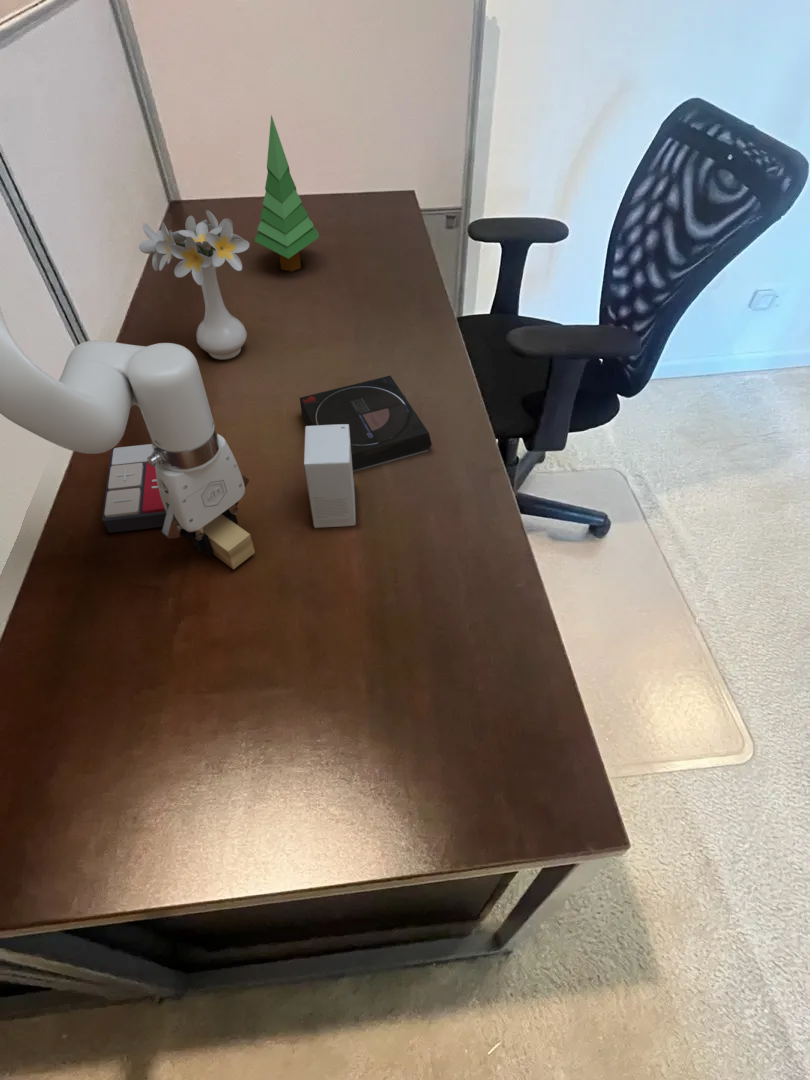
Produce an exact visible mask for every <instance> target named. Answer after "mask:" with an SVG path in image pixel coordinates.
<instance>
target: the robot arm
mask: <svg viewBox="0 0 810 1080" xmlns="http://www.w3.org/2000/svg"><path fill="white" fill-rule="evenodd" d="M4 318H5V317H4V315H3V312H2V309H1V307H0V414H1V415H2V416H3V417H4V418H5V419H7V420H8V421H10V422H12V423H13V424H15V425H17V426H18V427H21V428H23V429H24V430H26V431H28V432H30V433H31V434H34V435H36V436H38V437H40V438H41V439H43V440H46V441H48V442H50V443H51V444H54V445H56V446H58V447H60V448H62V449H66V450H69V451H72V452H75V453H80V454H85V455H97V454H102V453H106V452H109V451H111V450H112V449H113V448H116V446H117V445H118V444H119V443H120V442H121V440H122V438H123V437H124V435H125V431H126V429H127V425H128V421H129V417H130V412H131V408H132V406H137V407H138V408H139V410H140V412H141V415H142V418H143V420H144V424H145V426H146V430H147V432H148V434H149V437H150V440H151V443H150V444H152V447H153V453H152V454H151V456H149V457H147V460H148V462H149V463H150V465H151V466H153V467H155V470H156V478H157V484H158V488H159V492H160V496H161V499H162V502H163V505H164V508H165V511H166V513H167V514H166V518H165V522H164V525H163V527H162V529H161V534H162V535H163V536H164V537H165V538H166V539H168V540H171V539H179V538H180V537H181V538H185V539H191V542H192V545H193V547H194V549H195V550H196V551H198V552H199V553H205V554H206V555H207V556H208V557H212V556H214V554H213V550H212V547H211V544H210V541H209V538H208V535H206V534H205V533H204V532H203V526H205V525H206V524H208V523H209V522H211V521H212V520H213V519H215V518H216V517H218V516H219V515H220V514H222V515H224V516H225V517H227V518H228V519H229V520H231V521H232V522H234V523H235V524H236V525H238V526H239V521H238V518H237V513H238V512H239V508H238V505H239V503H240V500H241V499H242V498H243V497H244V496H245V493H246V487H247V486H248V484H249V483H250V479H249V478H248V477H246V476H245V475H243V474H242V473H241V470H240V467H239V465H238V462H237V459H236V458H235V456H234V454H233V451H232V450H231V448H230V445H229V443H228V442H227V441H226V439H225V438H224V437H223V436H222V435H221V434H219V433H218V432H217V428H216V425H215V420H214V418H213V415H212V410H211V407H210V403H209V399H208V394H207V392H206V387H205V385H204V381H203V377H202V373H201V370H200V366H199V364H198V360H197V358H196V356H195V355H194V353H193V352H191V350H189V348H186V347H185V346H184V345H181V344H178V343H174V342H173V343H172V342H159V343H154V344H149V345H146V346H145V345H135V344H130V343H129V344H128V343H122V342H116V341H109V340H99V339H98V340H86V341H83V342H81V343H79V344H77V345H76V346H75V347H74V348H73V349H72V350H70V353H69V354H68V356H67V359H66V362H65V364H64V368H63V370H62V373H61V375H60V377H59V379H56V378H55V377H53V376H52V375H50V374H49V373H47V372H46V371H44V370H43V368H41V367H39V366H38V365H37V364H36V363H35V362H34V361H33V360H32V359H31V358H29V356H27V354H26V353H25V352H24V351H23V349H22V348H21V347H20V346H19V345H18V343H17V342H16V341H15V339H14V337H13V335H12V334H11V331H10V330H9V327H8V325H7V323H6V321H5V319H4ZM178 523H179V524H178Z"/></svg>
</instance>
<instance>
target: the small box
mask: <svg viewBox="0 0 810 1080" xmlns="http://www.w3.org/2000/svg"><path fill="white" fill-rule="evenodd" d="M303 442H304V443H303V444H304V445H303V468H304V474H305V479H306V486H307V492H308V498H309V499H308V500H309V505H310V511H311V519H312V524H313V528H315V529H318V528H319V529H320V528H336V527H337V528H338V527H339V528H340V527H353V526H356V525H357V524H356V522H357V521H356V495H355V494H356V492H355V491H356V490H355V482H354V480H355V479H354V472H353V469H352V456H351V443H350V431H349V424H337V425H317V426H307V425H306V426H304V440H303Z"/></svg>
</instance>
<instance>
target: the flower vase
mask: <svg viewBox="0 0 810 1080" xmlns="http://www.w3.org/2000/svg"><path fill="white" fill-rule="evenodd" d="M205 214H206V216H207V219H204V220H202V221H200V222H198V223H196V219H195V217H194V216H193V215H189V216H188V217H187V218H186V219H185V227H184V228H185V229H180V230H177V231H173V232H172V229H169V230H168V228H167V225H166V224H165V222H164V221H162V222H161V227H160V229H158V230H157V231H156V232H155V231H154V229H152V228H151V226H149V224H148V223H146V222H143V223H142V229H143V232H144V234H145V236H146V237H147V238H148V239H149V240H143V241H140V243H139V244H138V250H139V251H140V252H141V253H143V254H146V255H148V254H149V255H150V254H152V258H151V264H152V268H153V271H155V272H157V271H158V270H159V271H160V272H162V271H163V269H164V268H165V267H166V265H169V264H170V263H171V261H172V259H173V258H174V257H175V258H176V259H179V260H181V261H179V262H178V263H177V264H176V265H175V267H174V271H173V273H174V276H175V277H176V278H184V277H185V276H188V274H189V273H190V272H191V276H192V279H193V280H194V282H195V283H196V284H197V285H198V286H200V287H201V291H202V295H203V303H204V316H203V319H202V320H201V321H200V322H199V324H198V326H197V328H196V331H195V339H196V343H197V345H198V346H199V347H200V349H202V350H203V351H204V352H206V353H208V355H209V356H210V357H211V358H213V359H216V360H223V361H225V360H230V359H233V358H236V357H237V356H238V355H239V354H240V353H241V351H242V347H243V346H244V344H245V343H246V341H247V337H248V332H247V330H246V326H245V325H244V324H243V322H242V321H241V320H239V319H238V317H235V316H234V315H232V314H231V313H230V311H229V310H228V309H227V307H226V304H225V302H224V300H223V297H222V293H221V289H220V285H219V281H218V277H217V268H219V267H222V265H223V264H225V262H227V263H228V264H229V266H230V267H232V269H234V270H235V271H237V272H241V271H242V270H243V263H242V260H241V259H240V257H239V256H238V255H237V254H240V253H244V252H246V251H247V250H248V249H249V248H250V242H249V241H248V240H246V239H244V238H242V237H241V236H240V235H238V234H235V233H234V223H233V221H232V220H231V219H230V218H223V219H222V220H221V221H220V222H219V221H218V219H217V217H216V216H215V215H214V214H213V213H212V211H210V210H208V209H207V210H205ZM208 222H209V223H208ZM175 241H177V242H175ZM209 245H210V248H207V247H208V246H209Z"/></svg>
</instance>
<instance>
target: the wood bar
mask: <svg viewBox="0 0 810 1080" xmlns="http://www.w3.org/2000/svg"><path fill="white" fill-rule="evenodd" d="M203 532H204V533H205V534H206V535H208V538H209V541H210V544H211V547H212V550H213V556H214V557H216V558H217V559H219V560H220V561H221V562H223V564H226V566H228V567H229V568H231V569H232V570H235V569H236V568H237V567H239V566H240V565H241V564H243V563H244V562H245V561H246V560H248V559H249V558H250V557H251V556H253V555H254V554H255V553H256V551H255V547H254V543H253V540H252V536H251V534H250V533H249V532H247V531H246V530H245V529H244V528H242V527H241V526H240V525H239V524H238V525H236V524H235V523H234V522H232V521H231V520H229V519H228V518H227V517H225V516H224V515H222V514H220V515H219V516H218V517H216V518H215V519H213V520H212V521H211V522H209V523H208V524H206V525H205V526H203Z"/></svg>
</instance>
